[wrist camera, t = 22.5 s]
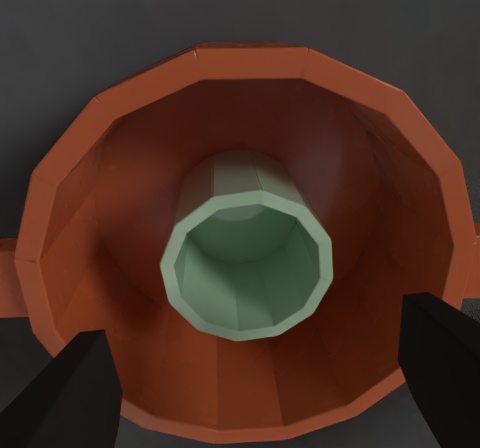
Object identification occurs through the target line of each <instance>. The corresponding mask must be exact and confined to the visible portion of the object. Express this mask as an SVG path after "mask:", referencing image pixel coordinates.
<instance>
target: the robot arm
mask: <svg viewBox="0 0 480 448" xmlns="http://www.w3.org/2000/svg"><path fill="white" fill-rule="evenodd" d="M397 360H398V363H399V365H400V368H401V370H402V373H403V375H404V378H405V380H406V382H407V385H408V387H409V389H410V392H411V394H412V396H413V399H414V401H415V402H416V404H417V406H418V408H419V410H420V411H421V413H422V415H423V417H424V419H425V420H426V422H427V424H428V426H429V427H430V429H431V431H432V433H433V435H434V436H435V438H436V440H437V442H438V443H439V445H440V447H441V448H480V323H479V322H477V321H475V320H474V319H472V318H471V317H469V316H467V315H466V314H464V313H463V312H461V311H459V310H458V309H456V308H455V307H453V306H451V305H450V304H448V303H446V302H445V301H443V300H441V299H440V298H438V297H436V296H435V295H433V294H431V293H429V292H422V293H413V294H405V295H403V299H402V311H401V323H400V335H399V347H398V359H397ZM122 396H123V390H122V387H121V384H120V380H119V377H118V373H117V370H116V367H115V363H114V360H113V356H112V353H111V350H110V346H109V343H108V339H107V336H106V333H105V329H101V330H93V331H84V332H79V333H78V334H77V335H76V336H75V337H74V338H73V339H72V340H71V341H70V342H69V343H68V344H67V345H66V346H65V347H64V348H63V349H62V350H61V351H60V352H59V353H58V354H57V356H56V357H55V358H54V359H53V360H52V361H51V362H50V363H49V364H48V365H47V366H46V367H45V368H44V369H43V370H42V371H41V373H40V374H39V375H38V376H37V377H36V378H35V379H34V380H33V381H32V382H31V383H30V384H29V385H28V386H27V387H26V388H25V389H24V390H23V391H22V392H21V393H20V394H19V395H18V396H17V397H16V398H15V399H14V400H13V401H12V402H11V403H10V404H9V405H8V406H7V407H6V408H5V409H4V410H3V411H2V412H1V413H0V448H114V445H115V441H116V437H117V432H118V425H119V419H120V412H121V404H122Z"/></svg>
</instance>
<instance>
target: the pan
mask: <svg viewBox="0 0 480 448" xmlns="http://www.w3.org/2000/svg"><path fill="white" fill-rule="evenodd" d="M235 149H247V150H253V151H258V152H261V153H264V154H267V155H269V156H271V157H273V158H275V159H276V160H278V161H279V162H282V163H283V164H284V165H285V166H286V167H287V169H288V170H289V171H290V172H291V173H292V175H293V176H294V178H295V179H296V181H297V182H298V183H299V185H300V186H301V187H302V189H303V190H304V192H305V194H306V196H307V197H308V199H309V201H310V203H311V204H312V206H313V208H314V210H315V212H316V213H317V215H318V217H319V219H320V221H321V222H322V224H323V226H324V228H325V229H326V231H327V233H328V235H329V237H330V238H331V241H332V262H333V280H332V282H331V284H330V286H329V287H328V289H327V291H326V293H325V294H324V296H323V298H322V299H321V301H320V303H319V305H318V306H317V308H316V310H315V311H314V313H313V314H312V315H310V316H309V317H307V318H306V319H304V320H302V321H301V322H299V323H298V324H296V325H295V326H293V327H291V328H290V329H288V330H287V331H285V332H284V333H282V334H280V335H278V336H273V337H266V338H259V339H252V340H245V341H233V340H229V339H226V338H223V337H219V336H216V335H212V334H209V333H205V332H202V331H199V330H197V329H196V328H195V327H193V326H192V325H191V324H190V323H189V322H188V321H187V320H186V319H185V318H184V317H183V316H182V315H181V314H180V313H179V312H178V311H177V310H176V309H175V308H174V307H172V306H171V305H170V303H169V302H168V299H167V294H166V290H165V286H164V282H163V278H162V274H161V270H160V259H161V255H162V250H163V246H164V242H165V237H166V233H167V229H168V224H169V220H170V216H171V211H172V207H173V205H174V202H175V199H176V197H177V193H178V190H179V188H180V186H181V183H182V181H183V179H184V177H185V176H186V175H187V174H188V173H189V172H190V171H191V170H192V169H193V168H194V167H195V166H196V165H197V164H198V163H200V162H201V161H203V160H204V159H206V158H208V157H210V156H212V155H214V154H217V153H219V152H223V151H227V150H235ZM422 292H429V293H431V294H433V295H435V296H436V297H438V298H440V299H441V300H443V301H445V302H446V303H448V304H450V305H451V306H453V307H455V308H456V309H458V310H459V311H460V308H461V304H462V300H463V299H464V298H480V223H473V218H472V213H471V208H470V203H469V198H468V193H467V188H466V182H465V177H464V172H463V167H462V164H461V161H460V160H459V158H458V157H457V156H456V155H455V153H454V152H453V151H452V150H451V148H450V147H449V146H448V145H447V144H446V142H445V141H444V140H443V139H442V137H441V136H440V135H439V134H438V132H437V131H436V130H435V129H434V127H433V126H432V125H431V124H430V122H429V121H428V120H427V119H426V117H425V116H424V115H423V114H422V112H421V111H420V110H419V109H418V107H417V106H416V105H415V104H414V102H413V101H412V100H411V99H410V97H409V96H408V95H407V94H406V92H404V91H403V90H402V89H399V88H397V87H395V86H393V85H391V84H388V83H386V82H384V81H382V80H380V79H377V78H375V77H373V76H371V75H369V74H366V73H364V72H362V71H360V70H358V69H355V68H353V67H351V66H349V65H347V64H344V63H342V62H340V61H338V60H336V59H333V58H331V57H329V56H327V55H325V54H322V53H320V52H318V51H316V50H314V49H311V48H307V47H302V46H297V45H292V44H286V43H281V42H276V41H229V42H202V43H198V44H196V45H194V46H191V47H189V48H187V49H185V50H183V51H181V52H179V53H176V54H174V55H172V56H170V57H168V58H166V59H164V60H162V61H159V62H157V63H155V64H153V65H151V66H149V67H147V68H145V69H142V70H140V71H138V72H136V73H134V74H133V75H131V76H129V77H127V78H126V79H124V80H122V81H120V82H118V83H117V84H115V85H113V86H111V87H109V88H108V89H106V90H104V91H102V92H100V93H99V94H97V95H96V96H95V97H93V98H92V99H91V100H90V102H89V103H88V104H87V105H86V106H85V108H84V109H83V110H82V111H81V113H80V114H79V115H78V116H77V117H76V119H75V120H74V121H73V122H72V124H71V125H70V126H69V127H68V128H67V130H66V131H65V132H64V133H63V135H62V136H61V137H60V138H59V139H58V141H57V142H56V143H55V144H54V146H53V147H52V148H51V149H50V150H49V152H48V153H47V154H46V155H45V157H44V158H43V159H42V160H41V161H40V163H39V164H38V165H37V166H36V168H35V169H34V170H33V171H32V174H31V177H30V181H29V186H28V191H27V195H26V200H25V205H24V210H23V214H22V219H21V224H20V228H19V233H18V238H0V318H12V317H29V320H30V323H31V327H32V331H33V334H35V336H36V338H37V339H38V340H39V341H40V342H41V344H42V345H43V346H44V347H45V349H46V350H47V351H48V352H49V353H50V355H51V356H52V357H53V358H55V357H56V356H57V354H58V353H59V352H60V351H61V350H62V349H63V348H64V347H65V346H66V345H67V344H68V343H69V342H70V341H71V340H72V339H73V338H74V337H75V336H76V335H77V334H78V333H79V332H84V331H93V330H101V329H105V333H106V336H107V339H108V343H109V346H110V350H111V353H112V356H113V360H114V363H115V367H116V370H117V373H118V377H119V380H120V384H121V387H122V390H123V396H122V404H121V412H120V415H121V416H123V417H125V418H127V419H128V420H130V421H132V422H133V423H135V424H137V425H139V426H140V427H142V428H146V429H149V430H154V431H158V432H162V433H167V434H171V435H176V436H180V437H185V438H189V439H194V440H198V441H203V442H207V443H212V444H214V443H215V444H225V443H242V442H260V441H277V440H286V439H291V438H294V437H297V436H300V435H303V434H306V433H309V432H311V431H314V430H317V429H320V428H323V427H326V426H329V425H332V424H335V423H338V422H341V421H344V420H347V419H350V418H353V417H354V416H357V415H359V414H360V413H362V412H363V411H364V410H366V409H367V408H369V407H370V406H372V405H373V404H374V403H376V402H377V401H379V400H380V399H382V398H383V397H384V396H386V395H387V394H389V393H390V392H392V391H393V390H394V389H396V388H397V387H399V386H400V385H401V384H403V383H404V382H406V380H405V378H404V375H403V373H402V370H401V368H400V365H399V363H398V360H397V359H398V347H399V335H400V323H401V311H402V299H403V295H405V294H413V293H422Z"/></svg>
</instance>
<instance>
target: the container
mask: <svg viewBox="0 0 480 448" xmlns="http://www.w3.org/2000/svg"><path fill="white" fill-rule="evenodd" d="M160 270H161V274H162V278H163V282H164V286H165V290H166V294H167V299H168V302H169V303H170V305H171V306H172V307H174V308H175V309H176V310H177V311H178V312H179V313H180V314H181V315H182V316H183V317H184V318H185V319H186V320H187V321H188V322H189V323H190V324H191V325H192V326H193V327H195V328H196V329H197V330H199V331H202V332H205V333H209V334H212V335H216V336H219V337H223V338H226V339H229V340H233V341H245V340H252V339H259V338H266V337H273V336H278V335H280V334H282V333H284V332H285V331H287V330H288V329H290V328H291V327H293V326H295V325H296V324H298V323H299V322H301V321H302V320H304V319H306V318H307V317H309V316H310V315H312V314H313V313H314V311H315V310H316V308H317V306H318V305H319V303H320V301H321V299H322V298H323V296H324V294H325V293H326V291H327V289H328V287H329V286H330V284H331V282H332V280H333V262H332V241H331V238H330V237H329V235H328V233H327V231H326V229H325V228H324V226H323V224H322V222H321V221H320V219H319V217H318V215H317V213H316V212H315V210H314V208H313V206H312V204H311V203H310V201H309V199H308V197H307V196H306V194H305V192H304V190H303V189H302V187H301V186H300V185H299V183H298V182H297V181H296V179H295V178H294V176H293V175H292V173H291V172H290V171H289V170H288V169H287V167H286V166H285V165H284V164H283V163H282V162H279V161H278V160H276V159H275V158H273V157H271V156H269V155H267V154H264V153H261V152H258V151H253V150H247V149H235V150H227V151H223V152H219V153H217V154H214V155H212V156H210V157H208V158H206V159H204V160H203V161H201V162H200V163H198V164H197V165H196V166H195V167H194V168H193V169H192V170H191V171H190V172H189V173H188V174H187V175H186V176H185V177H184V179H183V181H182V183H181V186H180V188H179V190H178V193H177V197H176V199H175V202H174V205H173V207H172V211H171V216H170V220H169V224H168V229H167V233H166V237H165V242H164V246H163V250H162V255H161V259H160Z"/></svg>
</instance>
